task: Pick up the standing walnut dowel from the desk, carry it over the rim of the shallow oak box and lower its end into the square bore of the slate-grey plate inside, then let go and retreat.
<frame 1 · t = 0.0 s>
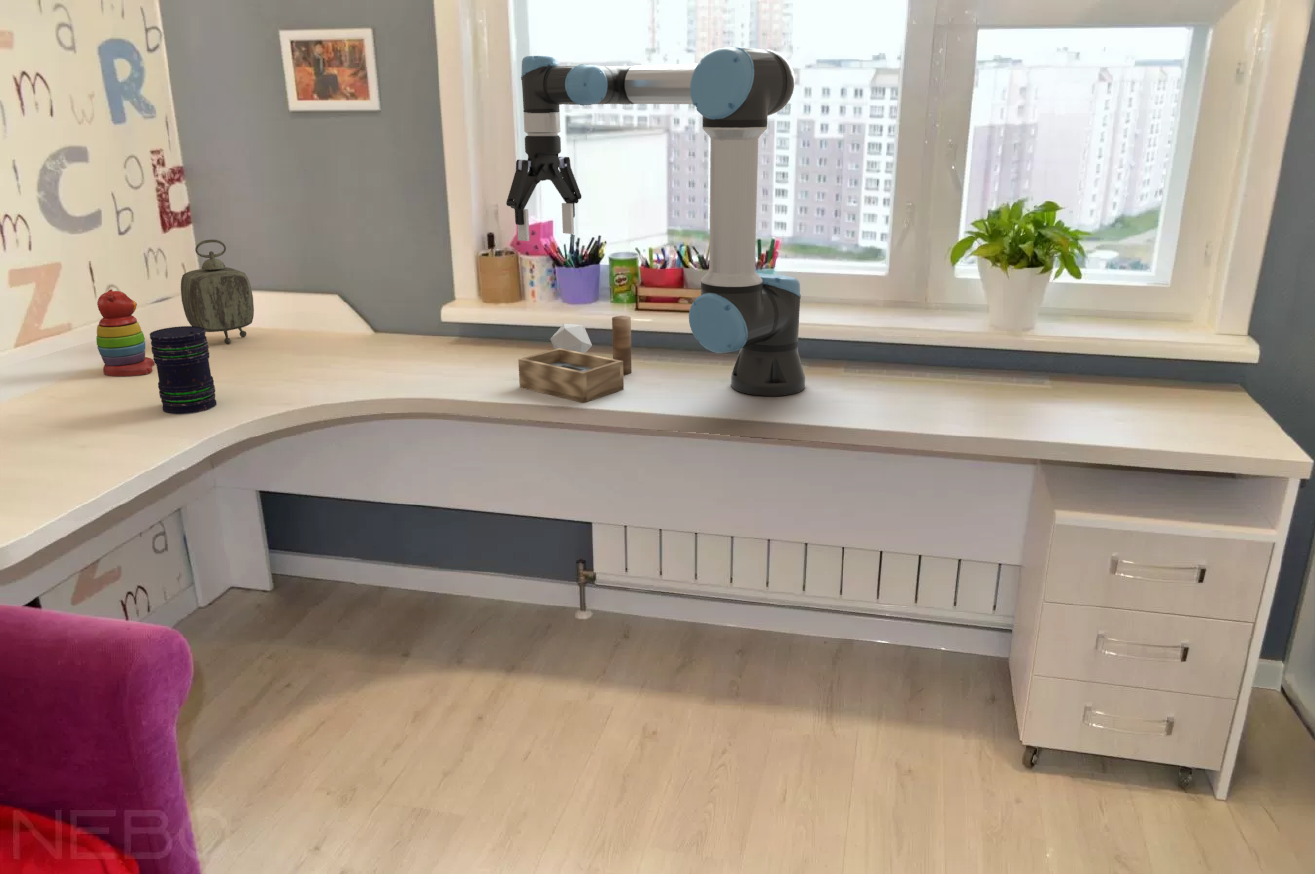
hand: (546, 237, 216), 28 cm above the table, tool pointing down, fingers open, 13 cm apart
storage jar: (190, 407, 194), on the table
peg: (622, 372, 217), on the table
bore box: (571, 388, 205), on the table
die: (571, 359, 228), on the table
bird stacking toy: (128, 371, 220), on the table
tabletop clock: (225, 343, 245), on the table
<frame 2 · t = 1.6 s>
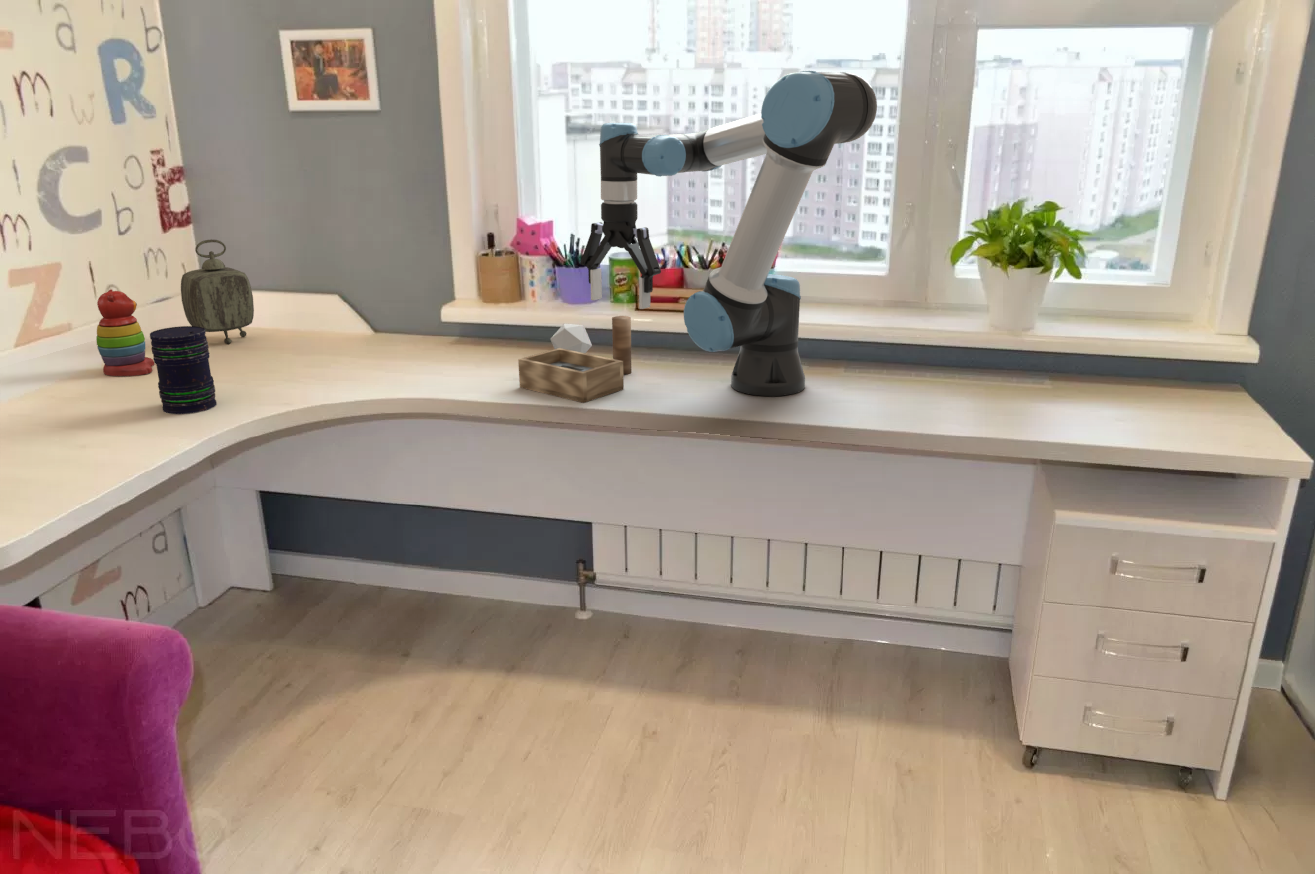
hand: (620, 303, 212), 15 cm above the table, tool pointing down, fingers open, 13 cm apart
nothing on the table moved.
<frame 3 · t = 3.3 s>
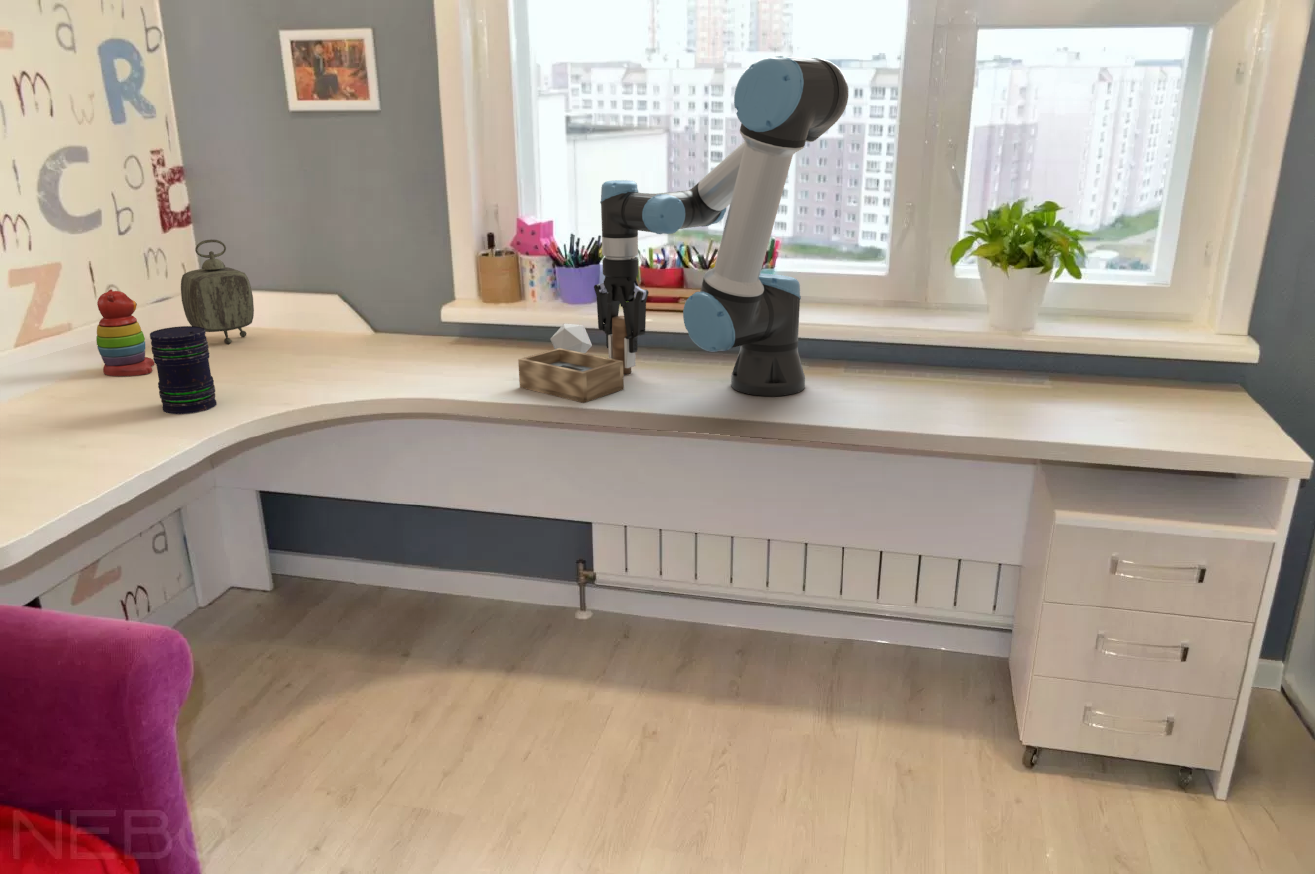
hand: (622, 364, 216), 2 cm above the table, tool pointing down, fingers closed on peg, 4 cm apart
peg: (622, 372, 217), on the table, touching gripper
everything else where it was.
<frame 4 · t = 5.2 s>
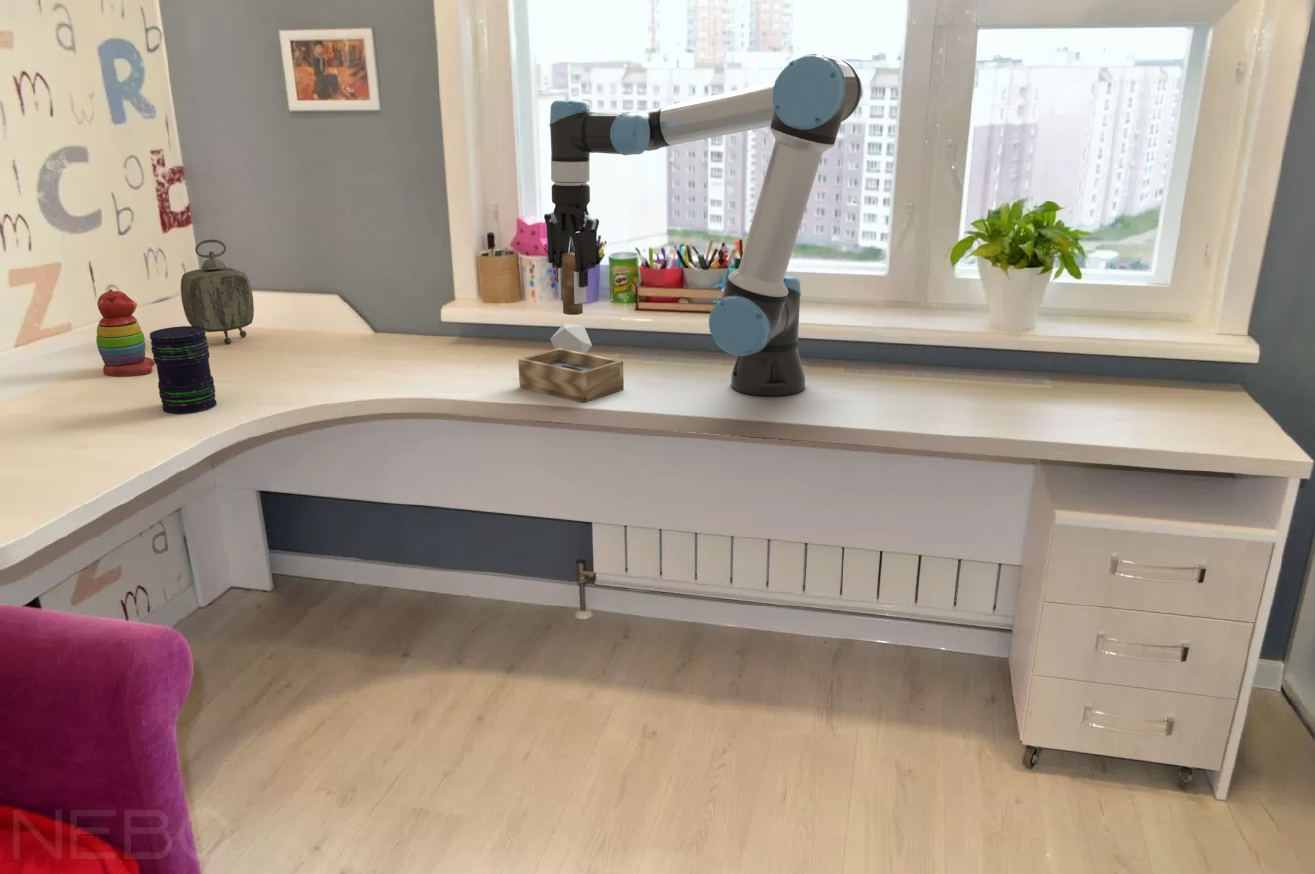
hand: (572, 300, 203), 17 cm above the table, tool pointing down, fingers closed on peg, 4 cm apart
peg: (572, 312, 204), point 15 cm above the table, touching gripper
everything else where it was.
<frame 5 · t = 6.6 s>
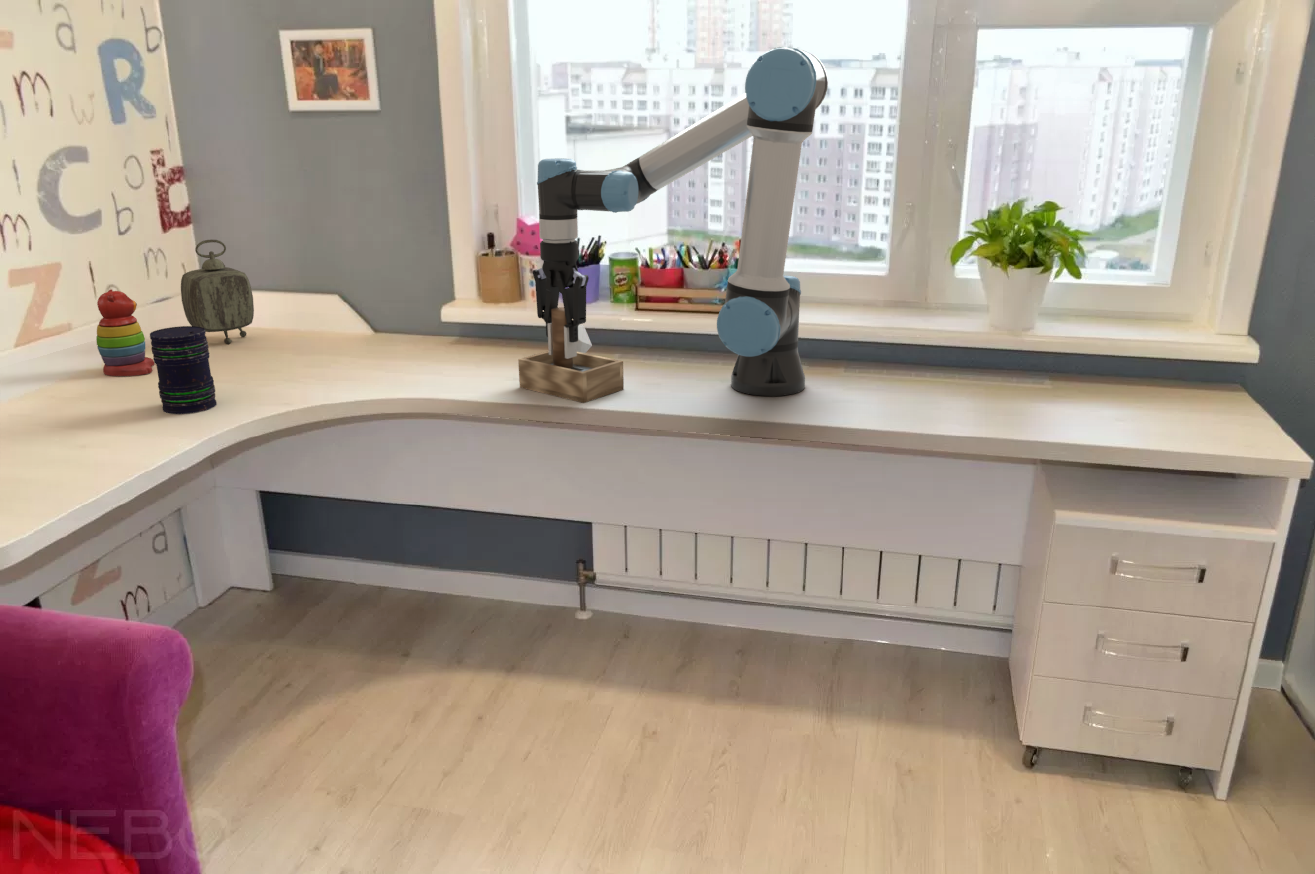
hand: (562, 355, 204), 7 cm above the table, tool pointing down, fingers closed on peg, 4 cm apart
peg: (563, 367, 205), point 4 cm above the table, touching gripper
everything else where it was.
when the fingers open (5 cm above the table, at t = 7.2 s): peg stays where it is, resting on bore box.
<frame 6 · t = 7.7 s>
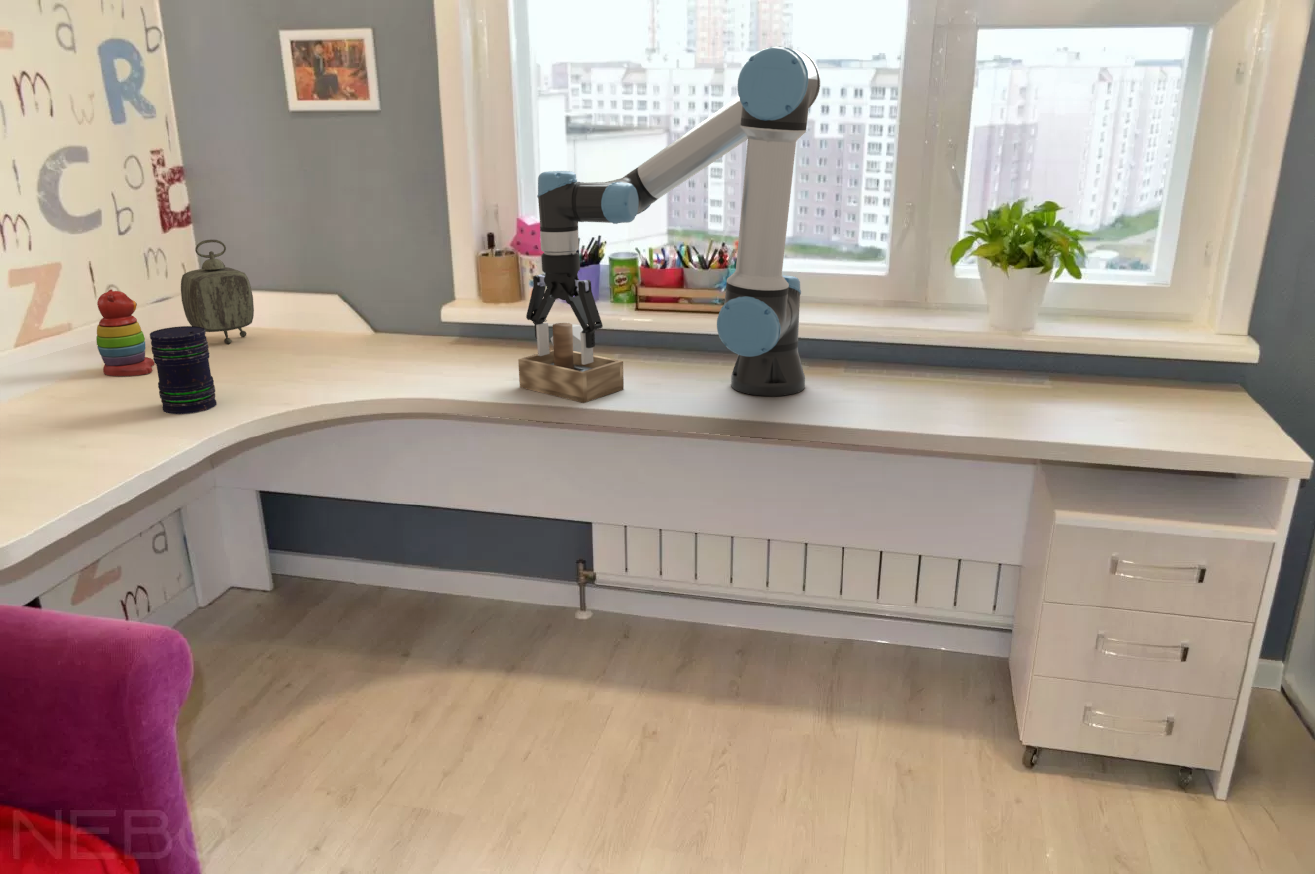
hand: (565, 359, 204), 6 cm above the table, tool pointing down, fingers open, 12 cm apart
peg: (564, 382, 206), point 1 cm above the table, touching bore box
everything else where it was.
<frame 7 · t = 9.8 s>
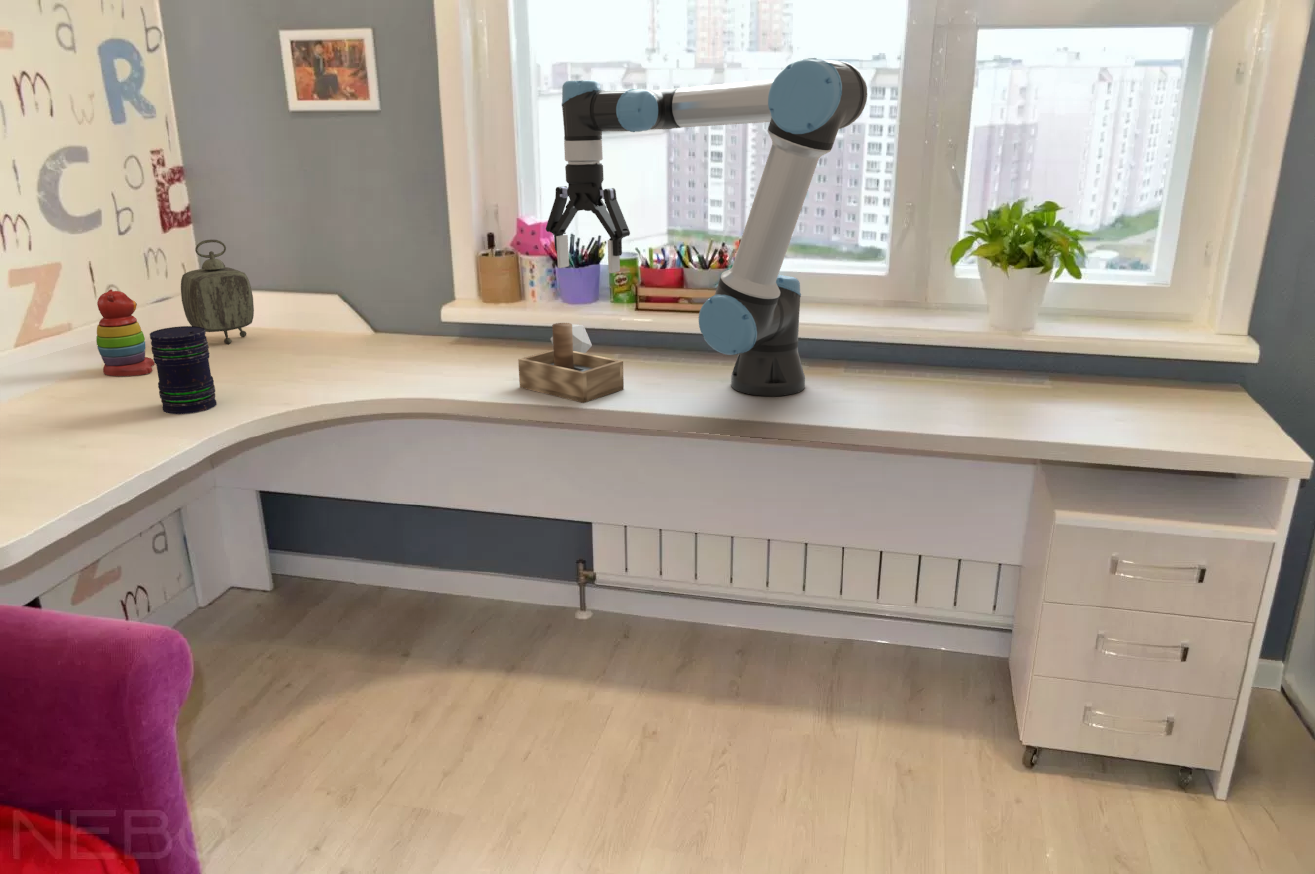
hand: (588, 269, 205), 23 cm above the table, tool pointing down, fingers open, 13 cm apart
nothing on the table moved.
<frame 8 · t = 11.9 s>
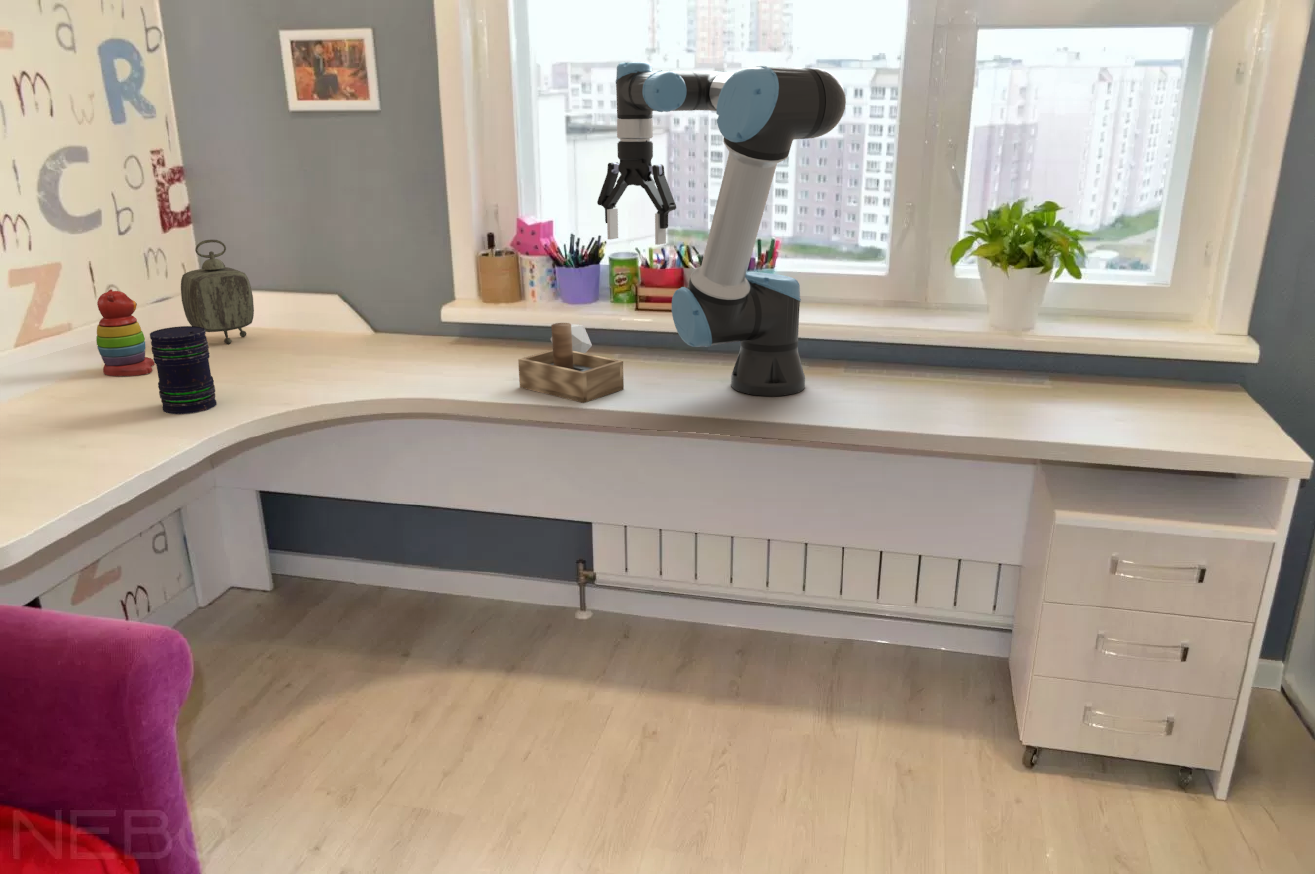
hand: (636, 241, 218), 27 cm above the table, tool pointing down, fingers open, 13 cm apart
nothing on the table moved.
at the end: peg 0.0 cm from the target spot on the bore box, point 1.0 cm above the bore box's base; peg tilted 1°; the gripper is holding nothing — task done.
